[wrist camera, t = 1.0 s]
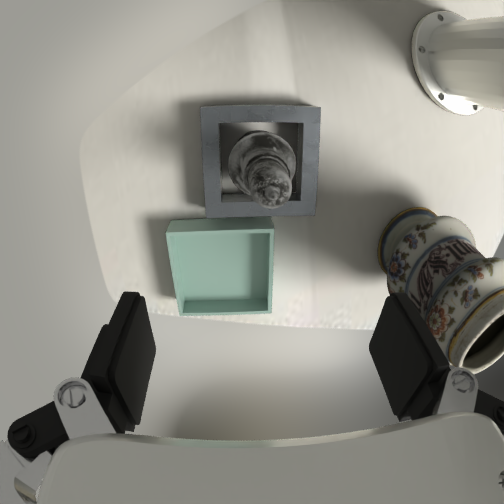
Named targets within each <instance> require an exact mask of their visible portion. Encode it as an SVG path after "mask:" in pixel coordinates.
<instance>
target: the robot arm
mask: <svg viewBox="0 0 504 504" xmlns="http://www.w3.org/2000/svg"><path fill="white" fill-rule="evenodd" d="M411 51H412V59H413V64H414V67H415V71H416V74H417V76H418V78H419V81H420V83H421V85H422V86H423V88H424V90H425V91H426V93H427V94H428V95H429V96H430V98H431V99H432V100H433V101H434V102H435V103H436V104H437V105H438V106H440V107H441V108H443V109H444V110H446V111H448V112H451V113H453V114H458V115H472V114H475V113H477V112H479V111H480V110H482V109H483V108H484V107H488V108H492V109H496V110H501V111H504V16H502V17H490V18H480V19H471V20H466V19H465V18H464V17H462V16H460V15H458V14H456V13H453V12H449V11H438V12H434V13H430V14H428V15H426V16H425V17H423V18H422V19H421V20H420V21H419V23H418V24H417V26H416V28H415V30H414V33H413V37H412V50H411ZM369 351H370V354H371V356H372V358H373V361H374V364H375V366H376V369H377V371H378V374H379V376H380V379H381V381H382V384H383V387H384V389H385V392H386V395H387V397H388V400H389V403H390V406H391V408H392V411H393V413H394V415H396V416H397V417H398V419H399V422H401V421H406V420H409V419H411V420H412V421H407V422H403V423H398V424H394V425H389V426H384V427H378V428H373V429H368V430H362V431H356V432H349V433H343V434H335V435H327V436H318V437H308V438H297V439H281V440H258V441H218V440H195V439H194V440H193V439H178V438H165V437H154V436H145V435H133V434H125V430H126V431H132V432H134V429H135V425H139V424H140V421H141V416H142V410H143V406H144V401H145V397H146V392H147V388H148V383H149V379H150V374H151V370H152V366H153V362H154V358H155V354H156V346H155V342H154V337H153V333H152V329H151V325H150V321H149V316H148V312H147V307H146V302H145V298H144V296H140V294H139V292H123V294H122V296H121V298H120V300H119V302H118V305H117V307H116V309H115V311H114V314H113V316H112V318H111V320H110V322H109V325H108V324H105V325H103V327H102V329H101V331H100V333H99V335H98V338H97V340H96V342H95V344H94V347H93V349H92V352H91V354H90V356H89V358H88V361H87V363H86V366H85V368H84V371H83V373H82V376H81V378H69V379H66V380H64V381H62V382H61V383H60V384H59V385H58V386H57V388H56V389H55V392H54V401H52V402H51V403H49V404H47V405H45V406H43V407H41V408H39V409H37V410H35V411H33V412H31V413H29V414H27V415H25V416H23V417H21V418H19V419H18V420H16V421H15V422H13V423H12V425H11V426H10V428H9V430H8V440H7V441H5V442H4V441H3V440H2V441H1V442H0V504H504V402H503V401H501V400H499V399H497V398H495V397H493V396H491V395H489V394H487V393H485V392H483V391H480V390H478V382H477V379H476V377H475V376H474V374H473V373H472V372H470V371H469V370H467V369H465V368H462V367H456V368H454V369H452V370H451V369H450V368H449V365H450V363H449V362H448V360H447V358H446V356H445V355H444V353H443V351H442V349H441V348H440V346H439V344H438V343H437V341H436V339H435V338H434V336H433V334H432V333H431V331H430V329H429V328H428V326H427V324H426V323H425V321H424V320H423V318H422V317H421V315H420V313H419V312H418V310H417V309H416V307H415V306H414V304H413V303H412V301H411V299H410V298H409V296H408V295H407V294H406V293H405V292H395V293H391V294H390V296H388V297H387V298H386V300H385V303H384V306H383V309H382V312H381V315H380V317H379V320H378V323H377V325H376V328H375V331H374V333H373V336H372V338H371V341H370V344H369ZM42 479H43V480H42ZM39 485H41V487H40V491H39V495H38V500H37V501H36V497H35V495H36V490H37V489H38V487H39Z"/></svg>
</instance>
